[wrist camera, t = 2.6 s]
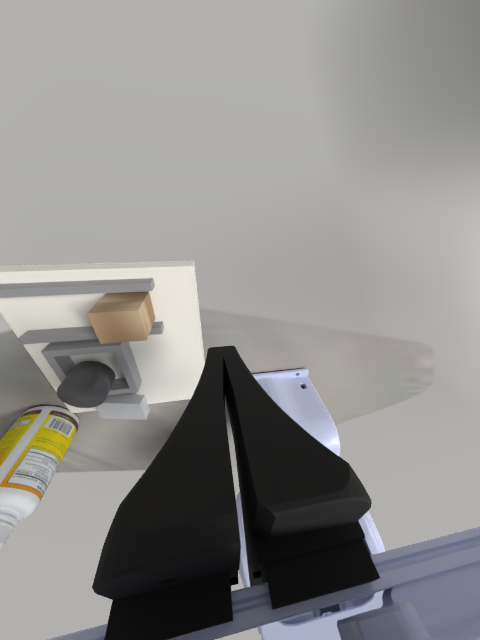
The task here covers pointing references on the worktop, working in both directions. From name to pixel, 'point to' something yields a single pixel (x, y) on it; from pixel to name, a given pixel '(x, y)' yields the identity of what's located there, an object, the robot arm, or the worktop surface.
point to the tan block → (122, 317)
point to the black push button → (86, 384)
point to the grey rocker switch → (124, 407)
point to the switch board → (78, 333)
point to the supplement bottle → (31, 461)
